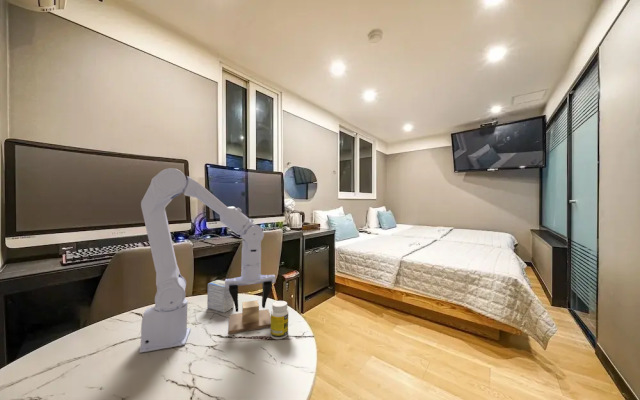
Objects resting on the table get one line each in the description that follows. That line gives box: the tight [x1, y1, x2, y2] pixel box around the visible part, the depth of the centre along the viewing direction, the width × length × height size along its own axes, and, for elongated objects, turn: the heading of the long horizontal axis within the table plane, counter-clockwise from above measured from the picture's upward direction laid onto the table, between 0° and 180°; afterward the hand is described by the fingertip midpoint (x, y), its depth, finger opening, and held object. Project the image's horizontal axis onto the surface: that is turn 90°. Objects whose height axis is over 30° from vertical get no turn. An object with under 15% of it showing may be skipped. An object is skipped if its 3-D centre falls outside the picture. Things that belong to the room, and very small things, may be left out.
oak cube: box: [241, 299, 260, 324], centre depth 69 cm, size 4×4×4 cm
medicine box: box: [206, 279, 235, 313], centre depth 78 cm, size 8×4×9 cm, turn 65°
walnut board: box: [228, 308, 271, 335], centre depth 69 cm, size 12×10×1 cm
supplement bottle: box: [270, 300, 289, 340], centre depth 62 cm, size 5×5×8 cm
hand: (250, 308), depth 69 cm, fingers open, 7 cm apart
